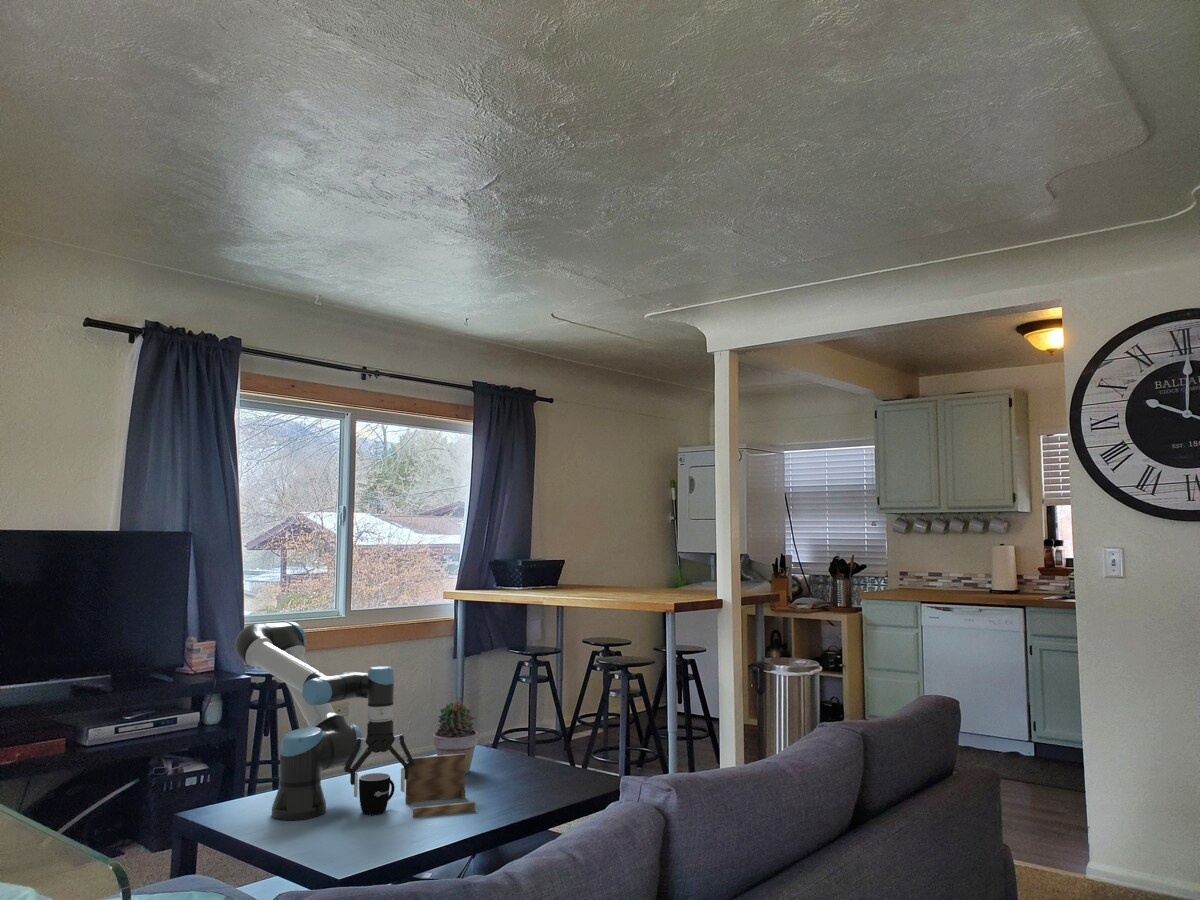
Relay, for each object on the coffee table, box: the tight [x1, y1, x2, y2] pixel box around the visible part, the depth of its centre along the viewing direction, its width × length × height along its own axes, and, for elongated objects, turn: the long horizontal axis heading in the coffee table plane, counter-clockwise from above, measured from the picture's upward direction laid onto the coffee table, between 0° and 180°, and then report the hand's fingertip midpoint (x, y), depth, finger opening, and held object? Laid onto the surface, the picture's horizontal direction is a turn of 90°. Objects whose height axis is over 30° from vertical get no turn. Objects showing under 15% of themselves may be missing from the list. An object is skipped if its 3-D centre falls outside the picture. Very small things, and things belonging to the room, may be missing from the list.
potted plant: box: [432, 701, 479, 775], centre depth 306 cm, size 18×20×25 cm
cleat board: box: [405, 753, 476, 818], centre depth 264 cm, size 18×17×13 cm
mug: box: [358, 772, 395, 816], centre depth 259 cm, size 12×9×10 cm
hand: (379, 793), depth 258 cm, fingers open, 13 cm apart
